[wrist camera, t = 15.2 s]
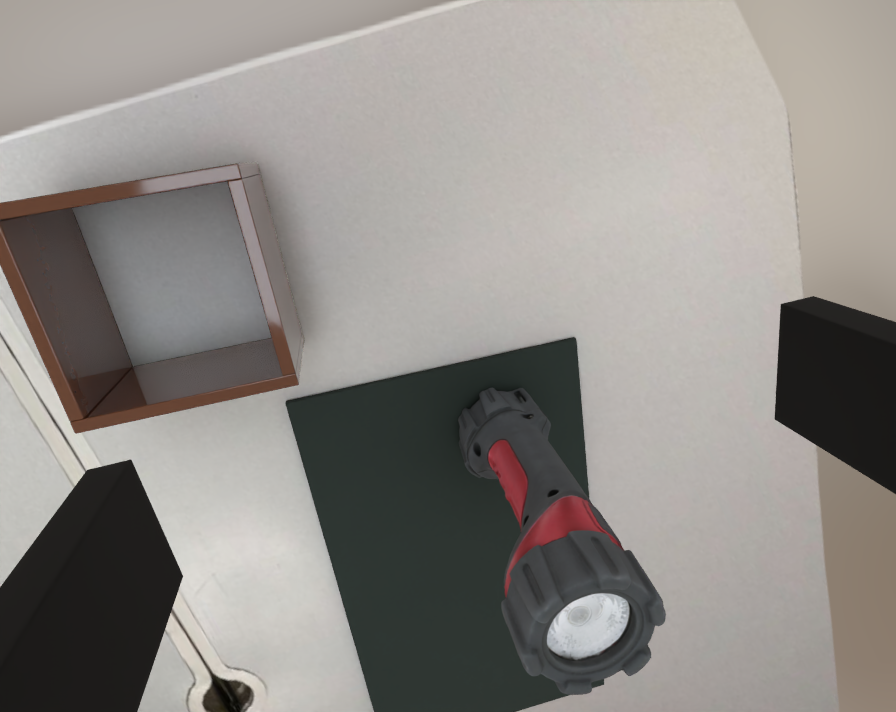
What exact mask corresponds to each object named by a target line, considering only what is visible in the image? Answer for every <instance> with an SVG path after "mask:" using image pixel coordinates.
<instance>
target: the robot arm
mask: <svg viewBox="0 0 896 712" xmlns="http://www.w3.org/2000/svg"><path fill="white" fill-rule="evenodd" d="M775 420H777V421H778V422H780V423H782V424H783V425H785V426H786V427H788V428H790V429H791V430H793V431H795V432H796V433H798V434H799V435H801V436H803V437H804V438H806V439H807V440H809V441H811V442H812V443H814V444H816V445H817V446H819V447H820V448H822V449H824V450H825V451H827V452H829V453H830V454H832V455H833V456H835V457H837V458H838V459H840V460H841V461H843V462H845V463H846V464H848V465H850V466H851V467H853V468H854V469H856V470H858V471H859V472H861V473H862V474H864V475H866V476H867V477H869V478H870V479H872V480H874V481H875V482H877V483H879V484H880V485H882V486H883V487H885V488H887V489H888V490H890V491H892V492H893V493H895V494H896V322H893V321H891V320H887V319H884V318H881V317H878V316H875V315H871V314H868V313H865V312H862V311H858V310H856V309H852V308H849V307H846V306H843V305H840V304H836V303H833V302H830V301H827V300H824V299H821V298H817V297H814V296H813V297H809V298H805V299H800V300H796V301H792V302H788V303H784V304H781V312H780V330H779V349H778V368H777V386H776V405H775ZM182 578H183V575H182V573H181V570H180V568H179V566H178V564H177V561H176V559H175V557H174V555H173V552H172V550H171V548H170V546H169V544H168V541H167V539H166V537H165V535H164V532H163V530H162V528H161V526H160V523H159V521H158V519H157V517H156V514H155V512H154V510H153V508H152V505H151V503H150V501H149V499H148V496H147V494H146V492H145V490H144V487H143V485H142V483H141V481H140V478H139V476H138V474H137V472H136V469H135V467H134V465H133V463H132V460H127V461H123V462H119V463H115V464H111V465H107V466H102V467H98V468H94V469H90V470H87V471H86V472H85V474H84V475H83V477H82V478H81V479H80V481H79V482H78V483H77V485H76V486H75V487H74V489H73V490H72V491H71V493H70V494H69V495H68V497H67V498H66V499H65V501H64V502H63V503H62V505H61V506H60V508H59V509H58V510H57V512H56V513H55V514H54V516H53V517H52V518H51V520H50V521H49V522H48V524H47V525H46V526H45V528H44V529H43V530H42V532H41V533H40V534H39V536H38V537H37V538H36V540H35V541H34V543H33V544H32V545H31V547H30V548H29V549H28V551H27V552H26V553H25V555H24V556H23V557H22V559H21V560H20V561H19V563H18V564H17V565H16V567H15V568H14V569H13V571H12V572H11V574H10V575H9V576H8V578H7V579H6V580H5V582H4V583H3V584H2V586H1V587H0V712H137V711H138V708H139V705H140V702H141V699H142V696H143V693H144V690H145V687H146V684H147V681H148V678H149V675H150V672H151V669H152V666H153V663H154V660H155V657H156V654H157V652H158V649H159V646H160V643H161V640H162V637H163V634H164V631H165V628H166V625H167V622H168V619H169V616H170V613H171V610H172V607H173V604H174V601H175V598H176V595H177V592H178V590H179V587H180V584H181V581H182Z"/></svg>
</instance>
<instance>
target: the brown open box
mask: <svg viewBox="0 0 896 712" xmlns="http://www.w3.org/2000/svg"><path fill="white" fill-rule="evenodd" d="M226 181H228V185H229V189H230V192H231V196H232V200H233V203H234V207H235V210H236V214H237V217H238V221H239V224H240V228H241V231H242V235H243V238H244V242H245V245H246V249H247V252H248V256H249V259H250V263H251V266H252V270H253V273H254V277H255V280H256V284H257V287H258V291H259V294H260V298H261V302H262V305H263V309H264V312H265V316H266V319H267V323H268V326H269V330H270V333H271V337H272V338H269V339H264V340H259V341H255V342H250V343H245V344H240V345H235V346H230V347H226V348H221V349H216V350H211V351H206V352H201V353H197V354H192V355H187V356H182V357H177V358H172V359H168V360H163V361H158V362H153V363H148V364H143V365H139V366H134V367H132V364H131V362H130V359H129V356H128V354H127V351H126V349H125V346H124V343H123V341H122V338H121V336H120V333H119V330H118V328H117V325H116V323H115V320H114V317H113V315H112V312H111V310H110V307H109V304H108V302H107V299H106V297H105V294H104V291H103V289H102V286H101V284H100V281H99V278H98V276H97V273H96V271H95V268H94V265H93V263H92V260H91V258H90V255H89V252H88V250H87V247H86V245H85V242H84V239H83V237H82V234H81V232H80V229H79V226H78V224H77V221H76V219H75V216H74V213H73V211H72V208H73V207H79V206H85V205H91V204H97V203H103V202H109V201H115V200H120V199H126V198H132V197H138V196H144V195H150V194H156V193H161V192H167V191H173V190H179V189H185V188H191V187H197V186H203V185H208V184H214V183H220V182H226ZM0 265H1V268H2V270H3V272H4V274H5V277H6V279H7V281H8V283H9V286H10V288H11V290H12V292H13V295H14V297H15V299H16V301H17V304H18V306H19V308H20V310H21V313H22V315H23V317H24V319H25V322H26V324H27V326H28V328H29V331H30V333H31V335H32V337H33V340H34V342H35V344H36V346H37V349H38V351H39V353H40V355H41V358H42V360H43V362H44V364H45V367H46V369H47V371H48V373H49V376H50V378H51V380H52V382H53V385H54V387H55V389H56V391H57V394H58V396H59V398H60V400H61V403H62V405H63V407H64V409H65V412H66V414H67V416H68V418H69V421H71V422H70V423H71V425H72V428H73V430H74V432H75V433H81V432H85V431H90V430H95V429H99V428H104V427H108V426H113V425H117V424H122V423H127V422H131V421H136V420H140V419H145V418H149V417H154V416H159V415H163V414H168V413H172V412H177V411H181V410H186V409H190V408H195V407H200V406H204V405H209V404H213V403H218V402H222V401H227V400H232V399H236V398H241V397H245V396H250V395H254V394H259V393H264V392H268V391H273V390H277V389H282V388H286V387H291V386H296V385H299V378H300V370H301V362H302V355H303V347H304V337H303V334H302V330H301V326H300V322H299V318H298V314H297V311H296V307H295V303H294V299H293V295H292V292H291V288H290V284H289V280H288V276H287V273H286V269H285V265H284V261H283V257H282V254H281V250H280V246H279V242H278V238H277V235H276V231H275V227H274V223H273V219H272V216H271V212H270V208H269V204H268V200H267V197H266V193H265V189H264V185H263V181H262V178H261V174H260V170H259V166H258V163H257V162H249V163H237V164H231V165H225V166H219V167H213V168H207V169H201V170H195V171H189V172H183V173H177V174H171V175H165V176H159V177H153V178H147V179H141V180H135V181H129V182H123V183H117V184H111V185H105V186H99V187H93V188H87V189H81V190H75V191H69V192H63V193H57V194H51V195H45V196H39V197H33V198H27V199H21V200H15V201H9V202H3V203H0Z"/></svg>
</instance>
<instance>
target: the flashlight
mask: <svg viewBox="0 0 896 712" xmlns="http://www.w3.org/2000/svg"><path fill="white" fill-rule="evenodd" d="M479 397H480V399H479V400H478V401H477V402H476V403H475V404H474V405H473V406H472V407H471V408H470V409H467V408H464V409H463V411H462V414H461V415H460V416H459V418H458V422H459V425H460V429H459V436H460V440H459V446H460V449H461V452H462V455H463V459H464V463H465V466H466V468H467V469H468V471H469V472H470V473H472V474H473V475H475V476H477V477H478V478H481V477H484V478H488V479H497V480H499V481H500V484H501V486H502V487H503V489H504V491H505V497H506V499H507V500H508V501H509V502H510V504H511V506H512V508H513V511H514V513H515V515H516V517H517V520H518V522H519V525H520V529H521V534H520V536H519V537H518V539H517V541H516V543H515V545H514V547H513V550H512V552H511V554H510V557H509V561H508V564H507V567H506V571H505V576H504V590H505V597H506V598H505V599H504V600H503V601H502V602H501V608H502V613H503V616H504V619H505V622H506V624H507V626H508V628H509V631H510V634H511V636H512V639H513V642H514V644H515V647H516V650H517V652H518V655H519V657H520V659H521V662H522V665H523V667H524V669H525V670H526V672H527V673H528V674H529V675H531V676H538V675H540V674H542V675H544V676H545V677H547V678H549V679H551V680H554V681H555V683H556V685H557V687H558V689H559V690H560V691H561V692H562V693H565V694H569V695H579V694H587V693H590V692H591V691H592V685H591V683H592V682H594V681H598V680H601V679H604V678H607V677H610V676H612V675H614V674H615V673H617V672H619V671H620V670H624V672H625V673H626V674H627V675H628V676H631V675H633V674H635V673H637V672H638V671H639V670H641V669H642V668H643V667H644V666H645V665H646V664H647V662H648V661H649V660H650V658H651V651H650V649H649V647H648V645H647V644H648V643H649V641H650V639H651V636H652V634H653V631H654V627H655V625H656V626H660V625H662V624H663V623H664V622H665V616H666V614H665V610H664V607H663V601H662V599H661V597H660V595H659V594H658V592H657V591H656V589H655V587H654V586H653V584H652V583H651V581H650V580H649V578H648V576H647V575H646V573H645V572H644V570H643V569H642V567H641V566H640V564H639V563H638V561H637V560H636V558H635V556H634V555H633V553H632V552H631V551H630V550H626V551H624V549H623V548H622V546H621V543H620V541H619V539H618V538H617V536H616V535H615V534H614V532H613V531H612V529H611V528H610V526H609V525H608V524H607V522H606V521H605V519H604V518H603V516H602V515H601V513H600V512H599V511H598V510H597V509H596V508H595V507H594V506H593V504H592V503H591V501H590V500H589V498H588V497H587V496H586V494H585V493H584V491H583V490H582V488H581V487H580V485H579V484H578V482H577V481H576V479H575V478H574V477H573V475H572V474H571V472H570V471H569V470H568V468H567V467H566V465H565V464H564V462H563V461H562V460H561V458H560V457H559V455H558V454H557V453H556V451H555V450H554V448H553V447H552V446H551V444H550V443H549V441H548V435H549V431H550V427H551V424H550V421H549V420H548V417H547V416H546V414H545V413H544V412H543V411H542V410H541V409H540V408H539V407H538V406H537V404H536V403H535V402H534V401H533V399H532V398H531V396H530V395H529V394H528V393H527V392H526V391H525V390H524V389H523V388H519V389H516V390H513V391H509V392H505V391H496V390H495V389H494V388H489V389H487V390H485V391H482V392H480V393H479Z"/></svg>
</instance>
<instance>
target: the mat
mask: <svg viewBox="0 0 896 712" xmlns="http://www.w3.org/2000/svg"><path fill="white" fill-rule="evenodd" d="M489 388H494V389H495V390H496V391H505V392H509V391H513V390H516V389H519V388H523V389H524V390H525V391H526V392H527V393H528V394H529V395H530V396H531V398H532V399H533V401H534V402H535V403H536V404H537V406H538V407H539V408H540V409H541V410H542V411H543V412H544V413H545V414H546V416H547V417H548V420H549V421H550V424H551V427H550V431H549V435H548V441H549V443H550V444H551V446H552V447H553V448H554V450H555V451H556V453H557V454H558V455H559V457H560V458H561V460H562V461H563V462H564V464H565V465H566V467H567V468H568V470H569V471H570V472H571V474H572V475H573V477H574V478H575V479H576V481H577V482H578V484H579V485H580V487H581V488H582V490H583V491H584V493H585V494H586V496H587V497H588V498H589V491H588V478H587V466H586V453H585V441H584V429H583V416H582V404H581V392H580V379H579V367H578V355H577V342H576V338H574V337H573V338H569V339H564V340H560V341H555V342H551V343H546V344H542V345H537V346H533V347H528V348H524V349H519V350H515V351H510V352H506V353H501V354H497V355H492V356H488V357H483V358H479V359H474V360H470V361H465V362H461V363H456V364H452V365H447V366H443V367H438V368H434V369H429V370H425V371H420V372H415V373H411V374H406V375H402V376H397V377H393V378H388V379H384V380H379V381H375V382H370V383H366V384H361V385H357V386H352V387H348V388H343V389H339V390H334V391H330V392H325V393H321V394H316V395H312V396H307V397H303V398H298V399H294V400H289V401H286V406H287V410H288V413H289V417H290V420H291V424H292V427H293V431H294V434H295V438H296V441H297V445H298V448H299V452H300V455H301V459H302V462H303V466H304V469H305V473H306V476H307V479H308V483H309V486H310V490H311V493H312V497H313V500H314V504H315V507H316V511H317V514H318V518H319V521H320V525H321V528H322V532H323V535H324V539H325V542H326V546H327V549H328V552H329V556H330V559H331V563H332V566H333V570H334V573H335V577H336V580H337V584H338V587H339V591H340V594H341V598H342V601H343V605H344V608H345V612H346V615H347V619H348V622H349V625H350V629H351V632H352V636H353V639H354V643H355V646H356V650H357V653H358V657H359V660H360V664H361V667H362V671H363V674H364V678H365V681H366V685H367V688H368V692H369V695H370V698H371V702H372V705H373V709H374V712H516V711H519V710H522V709H526V708H529V707H532V706H535V705H539V704H542V703H545V702H548V701H552V700H555V699H558V698H561V697H565V696H568V695H569V694H565V693H562V692H561V691H560V690H559V689H558V687H557V685H556V683H555V681H554V680H551V679H549V678H547V677H545V676H544V675H542V674H540V675H538V676H531V675H529V674H528V673H527V672H526V670H525V669H524V667H523V665H522V662H521V659H520V657H519V655H518V652H517V650H516V647H515V644H514V642H513V639H512V636H511V634H510V631H509V628H508V626H507V624H506V622H505V619H504V616H503V613H502V608H501V602H502V601H503V600H504V599H505V598H506V597H505V590H504V576H505V571H506V567H507V564H508V561H509V557H510V554H511V552H512V550H513V547H514V545H515V543H516V541H517V539H518V537H519V536H520V534H521V529H520V525H519V522H518V520H517V517H516V515H515V513H514V511H513V508H512V506H511V504H510V502H509V501H508V500H507V499H506V497H505V491H504V489H503V487H502V486H501V484H500V481H499V480H497V479H488V478H484V477H481V478H478V477H477V476H475V475H473V474H472V473H470V472H469V471H468V469H467V468H466V466H465V463H464V459H463V455H462V452H461V449H460V446H459V440H460V436H459V429H460V425H459V422H458V418H459V416H460V415H461V414H462V411H463V409H464V408H467V409H470V408H471V407H472V406H473V405H474V404H475V403H476V402H477V401H478V400H479V399H480V397H479V393H480V392H482V391H485V390H487V389H489ZM591 685H592V688H594V687H597V686H601V685H604V679H601V680H598V681H594V682H592V683H591Z"/></svg>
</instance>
